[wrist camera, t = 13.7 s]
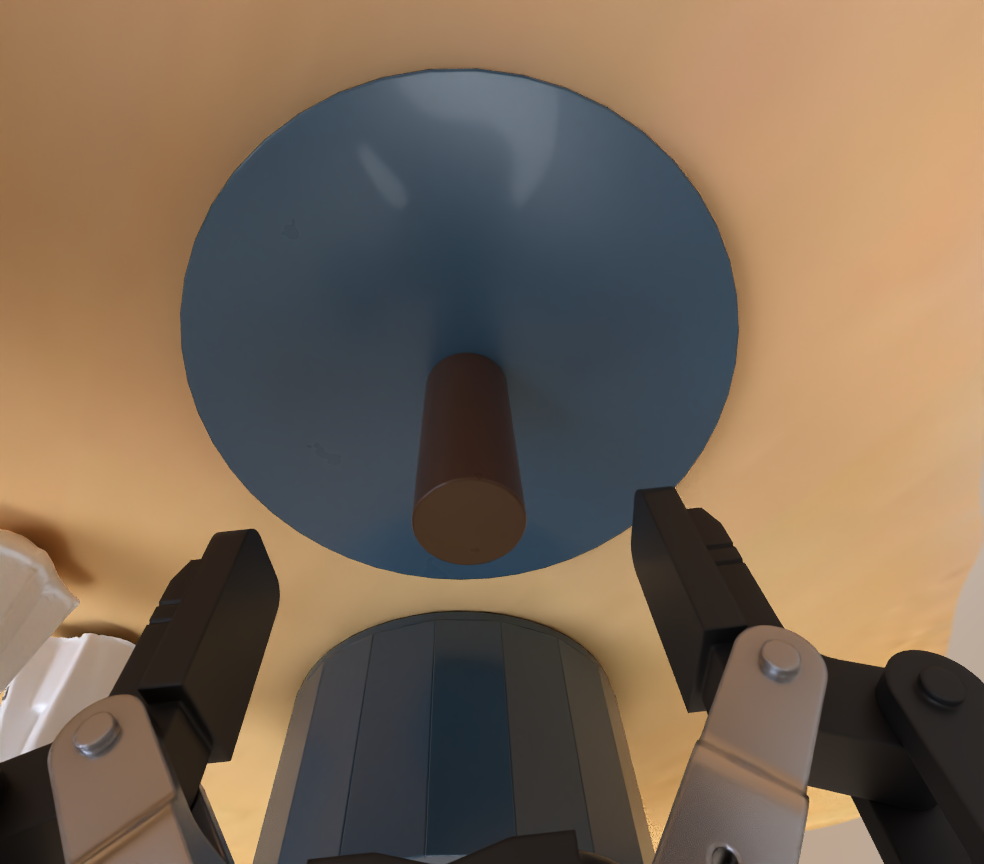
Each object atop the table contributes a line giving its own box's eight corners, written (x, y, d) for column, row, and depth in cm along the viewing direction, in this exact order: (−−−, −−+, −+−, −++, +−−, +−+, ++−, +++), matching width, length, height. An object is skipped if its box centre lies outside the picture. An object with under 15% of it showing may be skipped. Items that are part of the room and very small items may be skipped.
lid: (282, 576, 24) (216, 764, 18) (95, 101, 15) (-195, 125, 8) (693, 538, 24) (780, 712, 17) (768, 36, 15) (1013, 10, 8)
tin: (338, 807, 35) (300, 1030, 27) (254, 627, 26) (160, 880, 18) (607, 782, 34) (652, 998, 26) (618, 593, 26) (690, 832, 18)
